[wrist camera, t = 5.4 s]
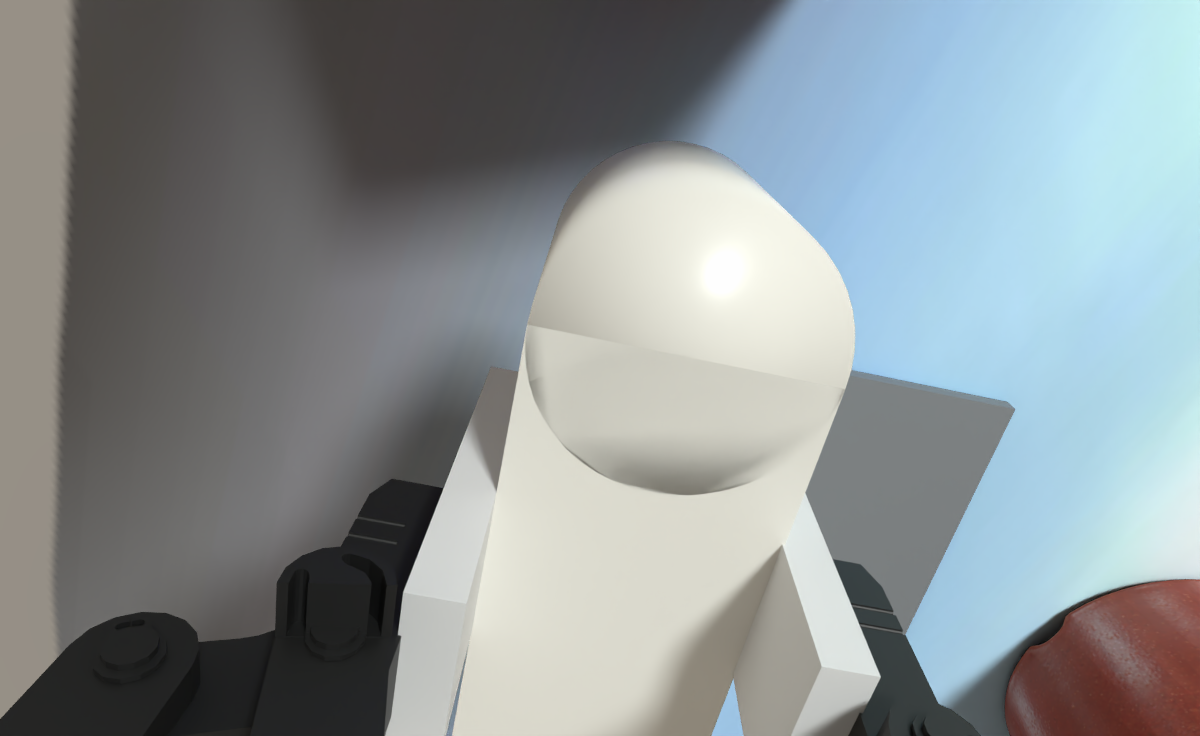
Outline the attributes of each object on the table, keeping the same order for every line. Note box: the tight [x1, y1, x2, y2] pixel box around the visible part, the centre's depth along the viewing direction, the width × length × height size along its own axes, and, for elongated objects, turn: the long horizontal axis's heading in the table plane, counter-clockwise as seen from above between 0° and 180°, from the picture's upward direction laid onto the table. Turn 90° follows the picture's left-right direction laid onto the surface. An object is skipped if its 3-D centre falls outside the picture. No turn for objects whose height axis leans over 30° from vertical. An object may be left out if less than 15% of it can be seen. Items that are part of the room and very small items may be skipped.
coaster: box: [805, 370, 1015, 635], centre depth 29 cm, size 12×12×1 cm
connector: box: [452, 141, 855, 736], centre depth 14 cm, size 13×4×5 cm, turn 168°
